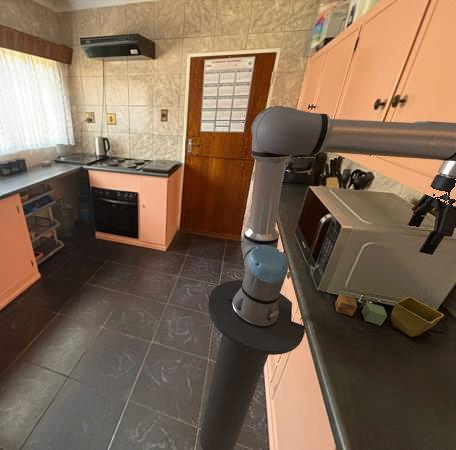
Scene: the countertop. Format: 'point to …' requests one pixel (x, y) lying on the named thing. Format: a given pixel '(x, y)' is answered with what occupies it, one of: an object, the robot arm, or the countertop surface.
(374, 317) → the green block
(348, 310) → the oak block
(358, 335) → the countertop surface
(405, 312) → the flower pot
